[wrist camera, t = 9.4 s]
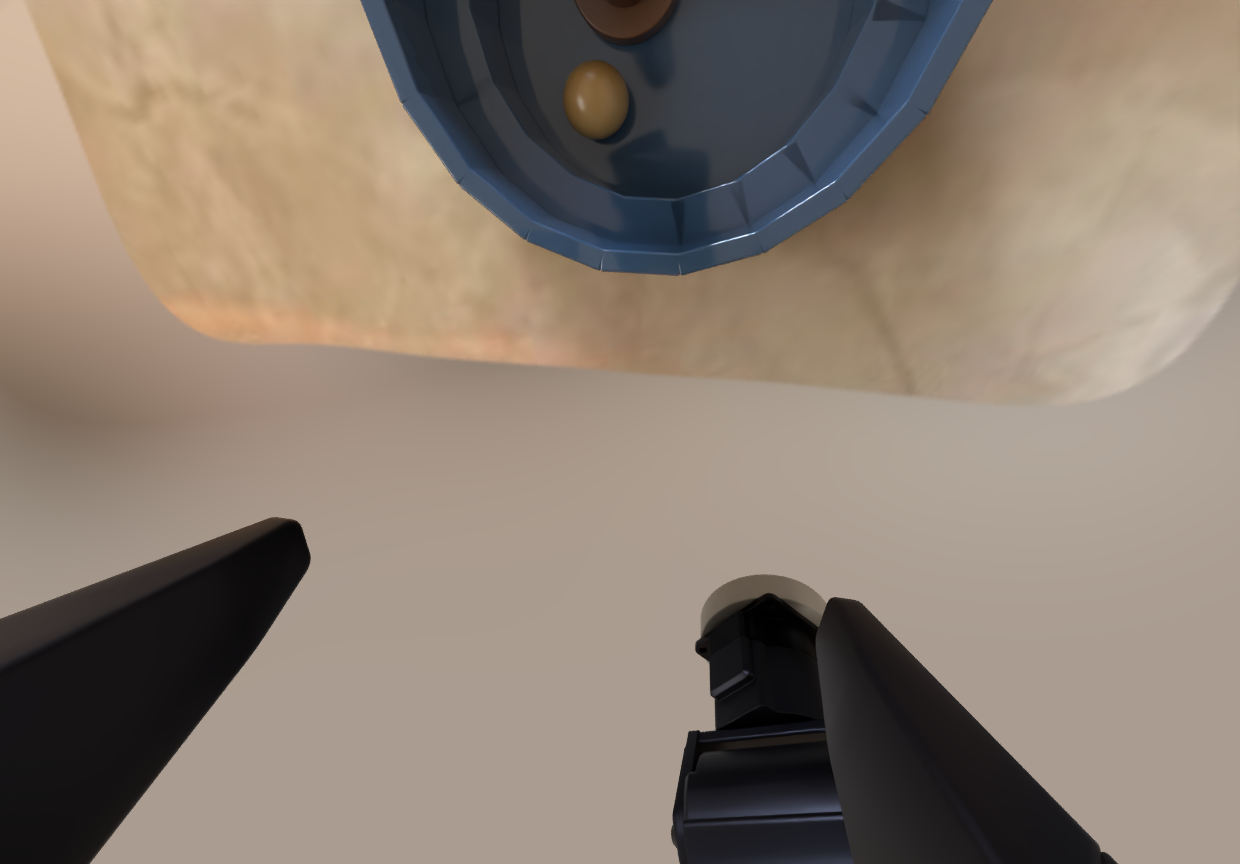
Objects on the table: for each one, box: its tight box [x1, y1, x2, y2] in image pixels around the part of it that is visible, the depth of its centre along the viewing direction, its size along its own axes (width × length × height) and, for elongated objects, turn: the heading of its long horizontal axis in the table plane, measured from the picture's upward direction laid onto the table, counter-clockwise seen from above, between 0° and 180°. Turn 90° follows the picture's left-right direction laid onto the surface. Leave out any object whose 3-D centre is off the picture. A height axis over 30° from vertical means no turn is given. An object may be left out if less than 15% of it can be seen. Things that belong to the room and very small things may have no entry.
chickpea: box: [563, 60, 629, 140], centre depth 15 cm, size 2×2×2 cm
